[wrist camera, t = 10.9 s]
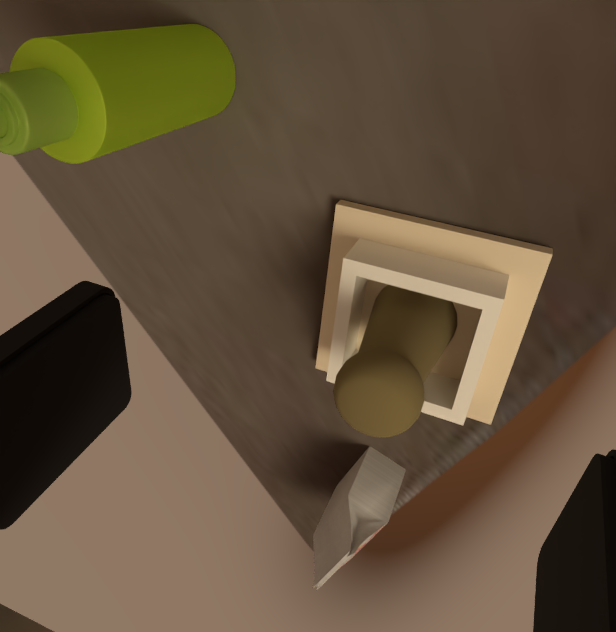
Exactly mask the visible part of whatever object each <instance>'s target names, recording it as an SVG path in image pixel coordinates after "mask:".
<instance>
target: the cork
mask: <svg viewBox="0 0 616 632" xmlns="http://www.w3.org/2000/svg"><path fill="white" fill-rule="evenodd" d="M456 328H457V312H456V309H455V307H454V304H453V302H452V301H448V300H445V299H441V298H437V297H433V296H430V295H426V294H422V293H419V292H415V291H411V290H407V289H404V288H400V287H396V286H392V285H387V286H386V287H384V288H383V289H382V290H381V291H380V293H379V294H378V296H377V297H376V299H375V302H374V305H373V308H372V311H371V314H370V317H369V321H368V324H367V327H366V330H365V333H364V336H363V339H362V342H361V345H360V349H359V352H358V353H357V354H355V355H354V356H352V357H350V358H349V359H348V360H346V362H345V363H344V364H343V366H342V367H341V369H340V370H339V372H338V373H337V375H336V380H335V384H334V390H333V394H334V400H335V404H336V407H337V409H338V411H339V413H340V415H341V417H342V418H343V419H344V420H345V421H346V422H347V423H348V424H349V425H350V426H351V427H353V428H354V429H356V430H357V431H359V432H361V433H363V434H366V435H368V436H372V437H380V438H384V437H392V436H395V435H398V434H400V433H402V432H404V431H406V430H408V429H409V428H410V427H411V426H412V424H413V423H414V422H415V421H416V420H417V419H418V418H419V416H420V413H421V410H422V407H423V404H424V401H425V398H424V384H423V383H424V382H425V380H426V378H427V377H428V375H429V374H430V372H431V371H432V369H433V368H434V366H435V364H436V363H437V361H438V360H439V358H440V357H441V355H442V354H443V352H444V351H445V349H446V347H447V346H448V344H449V343H450V341H451V340H452V338H453V337H454V334H455V331H456Z"/></svg>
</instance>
